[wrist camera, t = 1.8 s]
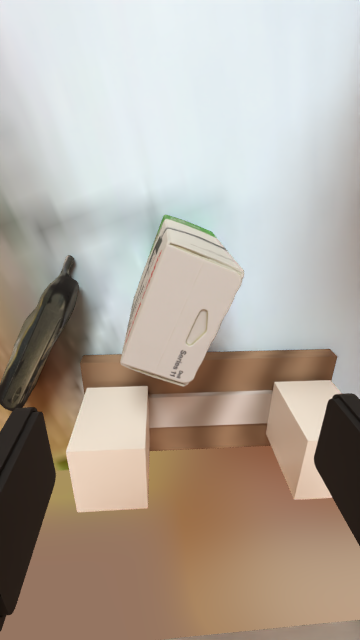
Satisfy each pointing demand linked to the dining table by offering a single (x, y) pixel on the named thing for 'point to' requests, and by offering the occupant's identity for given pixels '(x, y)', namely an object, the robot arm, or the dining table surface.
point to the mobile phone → (38, 339)
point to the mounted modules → (134, 443)
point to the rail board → (213, 395)
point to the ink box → (179, 302)
